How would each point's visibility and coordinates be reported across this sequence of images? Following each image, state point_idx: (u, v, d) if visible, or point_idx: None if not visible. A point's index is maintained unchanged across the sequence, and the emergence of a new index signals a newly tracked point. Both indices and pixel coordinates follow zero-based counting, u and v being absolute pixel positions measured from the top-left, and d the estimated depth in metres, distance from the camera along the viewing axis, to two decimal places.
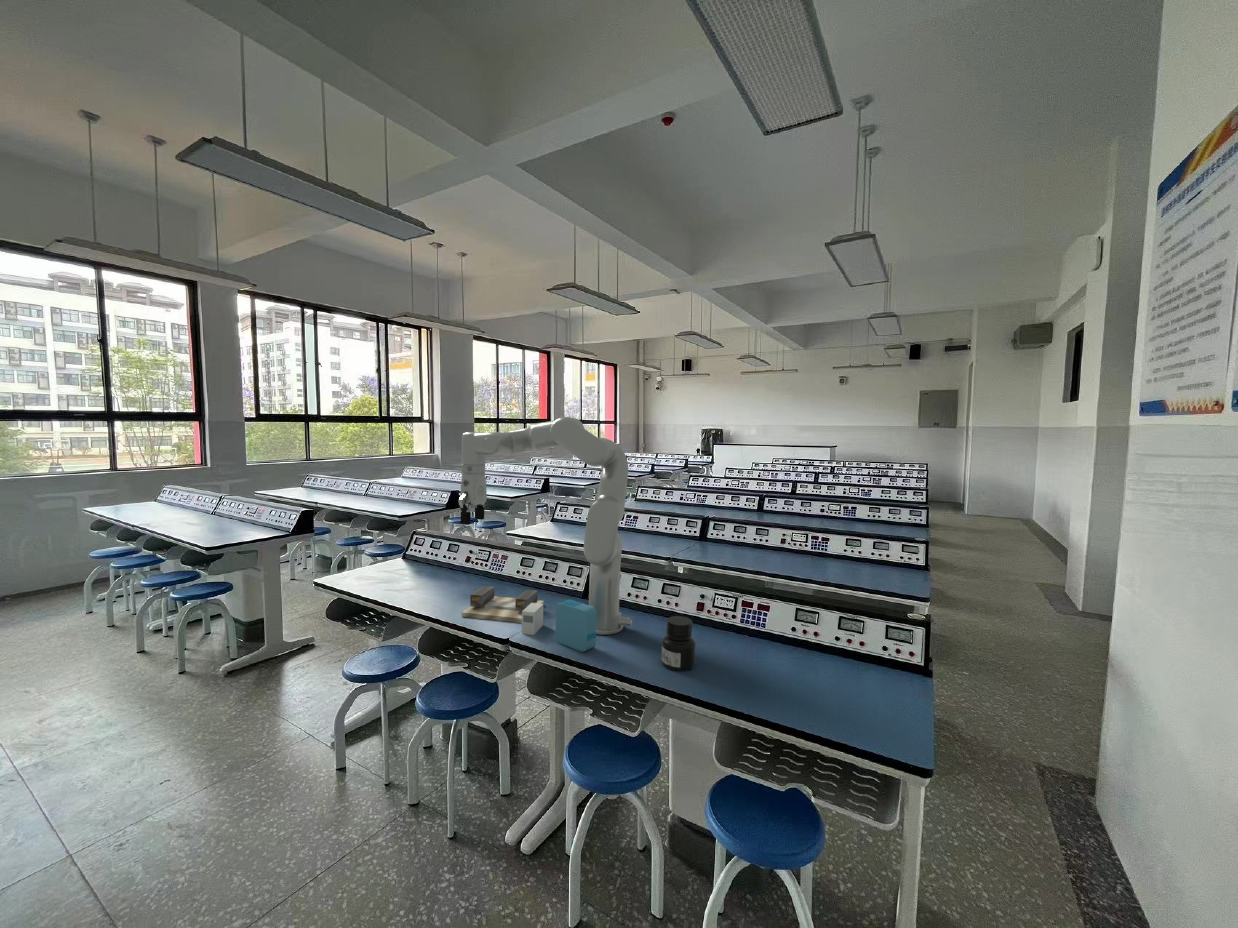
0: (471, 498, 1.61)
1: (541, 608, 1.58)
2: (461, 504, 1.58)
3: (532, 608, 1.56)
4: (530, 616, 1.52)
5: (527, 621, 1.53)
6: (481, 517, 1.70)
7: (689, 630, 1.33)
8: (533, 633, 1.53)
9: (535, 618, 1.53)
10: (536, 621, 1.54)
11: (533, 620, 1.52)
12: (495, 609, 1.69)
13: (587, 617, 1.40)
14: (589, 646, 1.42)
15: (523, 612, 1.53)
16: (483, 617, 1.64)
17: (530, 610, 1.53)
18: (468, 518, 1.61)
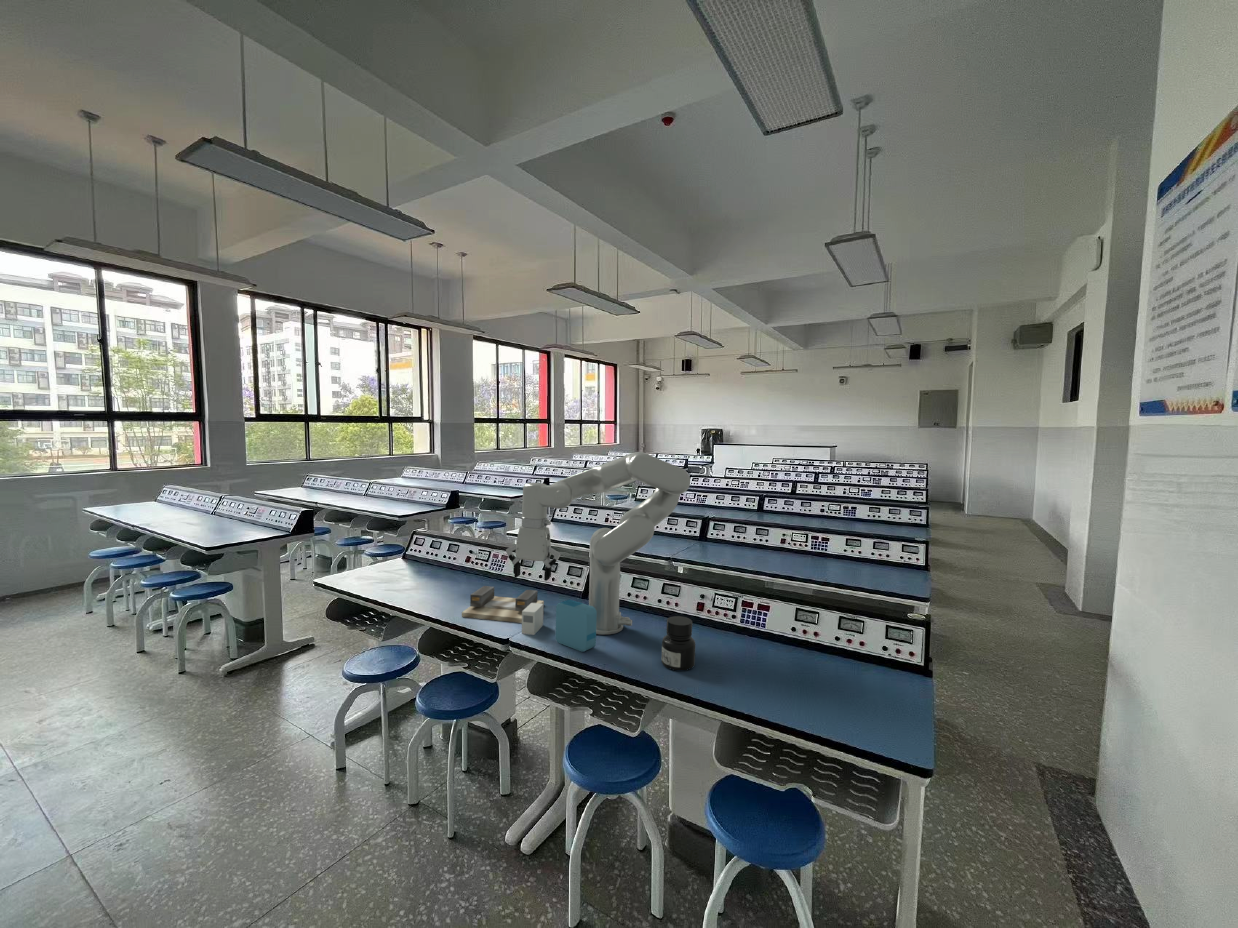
0: None
1: (541, 608, 1.58)
2: None
3: (532, 608, 1.56)
4: (530, 616, 1.52)
5: (527, 621, 1.53)
6: (519, 573, 1.58)
7: (689, 630, 1.33)
8: (533, 633, 1.53)
9: (535, 618, 1.53)
10: (536, 621, 1.54)
11: (533, 620, 1.52)
12: (495, 609, 1.69)
13: (587, 617, 1.40)
14: (589, 646, 1.42)
15: (523, 612, 1.53)
16: (483, 617, 1.64)
17: (530, 610, 1.53)
18: None
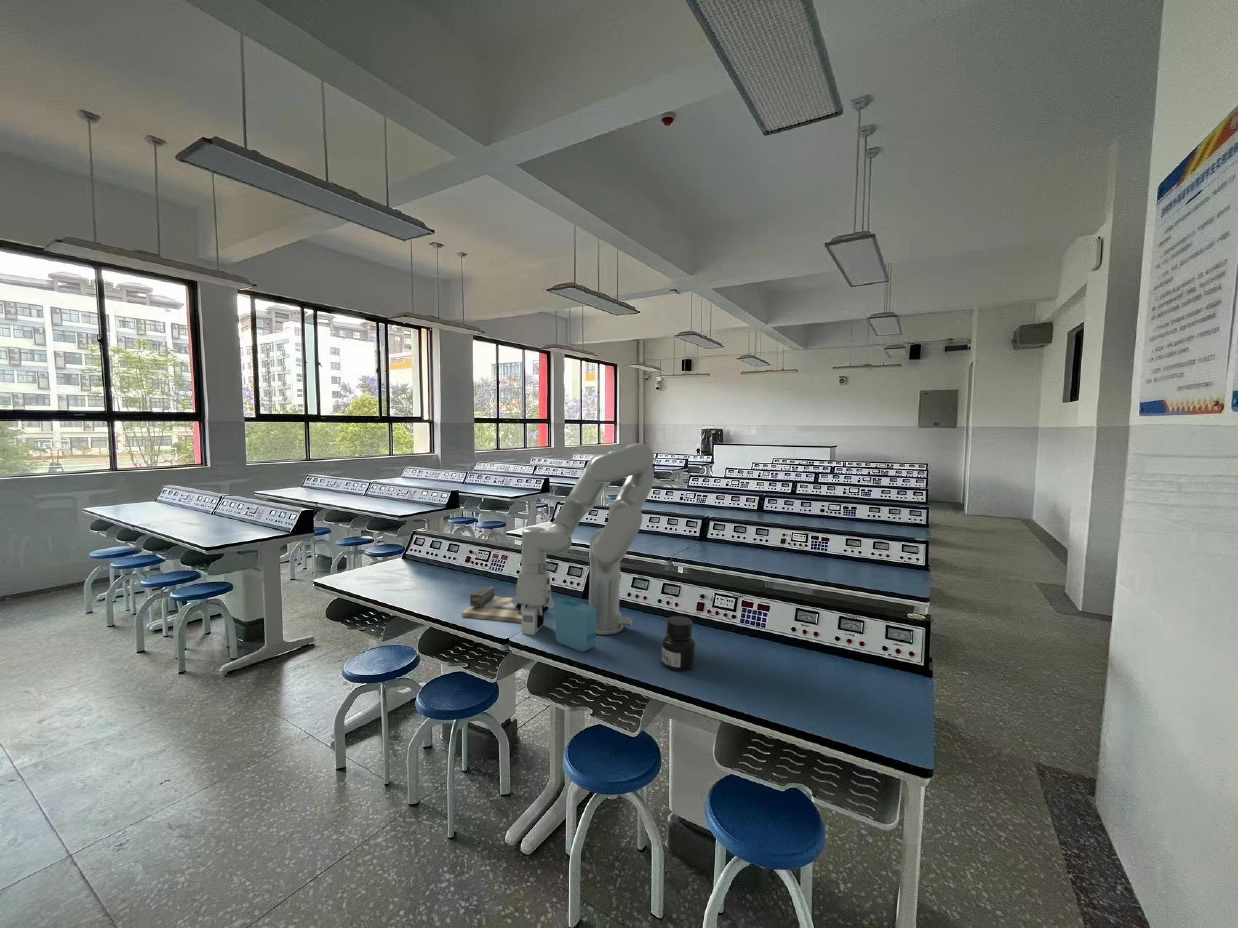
0: (550, 594, 1.57)
1: None
2: None
3: (532, 608, 1.56)
4: (530, 616, 1.52)
5: (527, 621, 1.53)
6: None
7: (689, 630, 1.33)
8: (533, 633, 1.53)
9: (535, 617, 1.53)
10: (536, 621, 1.54)
11: (533, 620, 1.52)
12: (495, 609, 1.69)
13: (587, 617, 1.40)
14: (589, 646, 1.42)
15: (523, 612, 1.53)
16: (483, 617, 1.64)
17: (530, 610, 1.53)
18: None
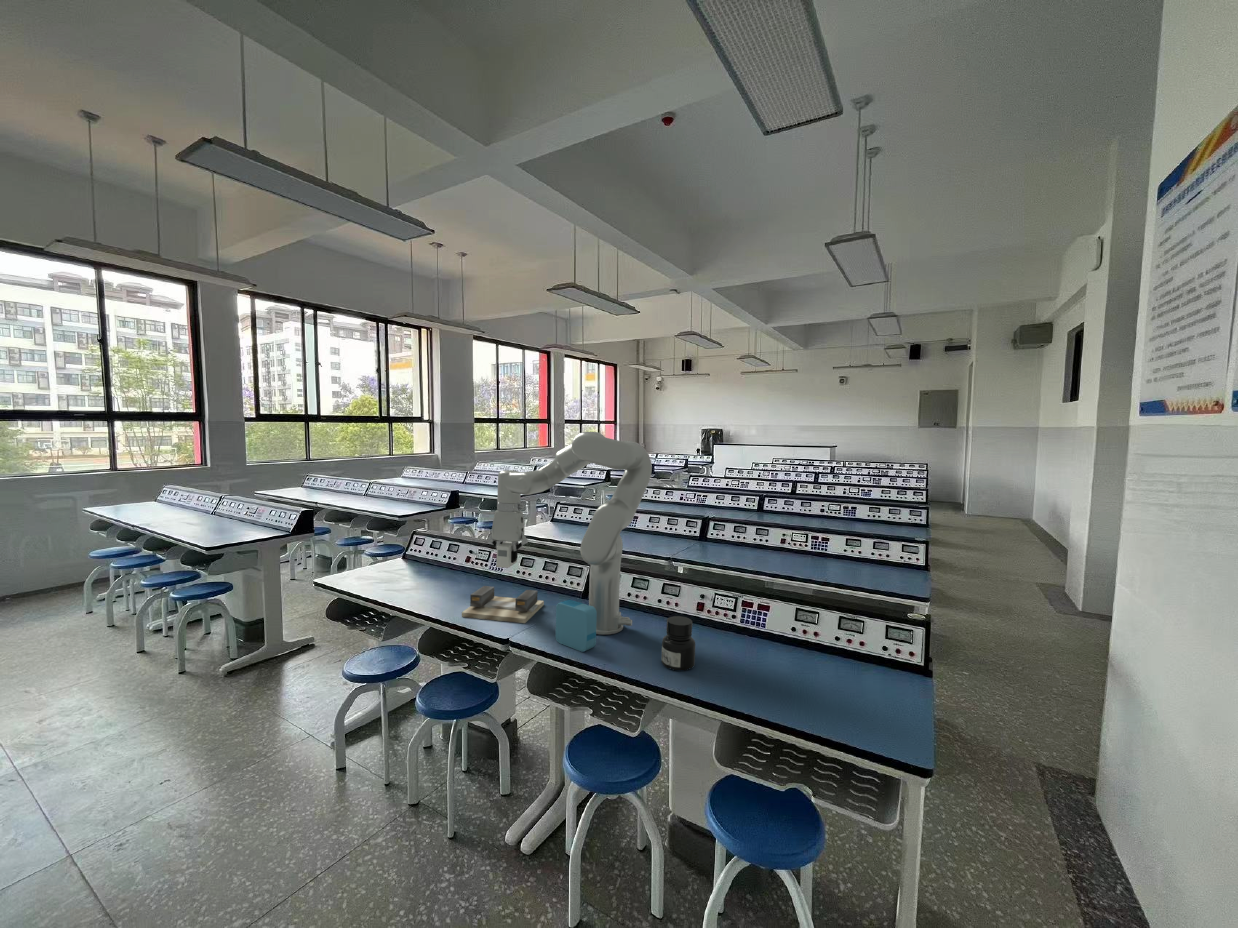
0: None
1: None
2: None
3: (507, 544, 1.68)
4: (504, 550, 1.65)
5: (501, 555, 1.65)
6: None
7: (689, 630, 1.33)
8: (507, 566, 1.65)
9: (509, 552, 1.66)
10: (510, 556, 1.67)
11: (507, 554, 1.65)
12: (495, 609, 1.69)
13: (587, 617, 1.40)
14: (589, 646, 1.42)
15: (498, 547, 1.66)
16: (483, 617, 1.64)
17: (505, 546, 1.66)
18: None
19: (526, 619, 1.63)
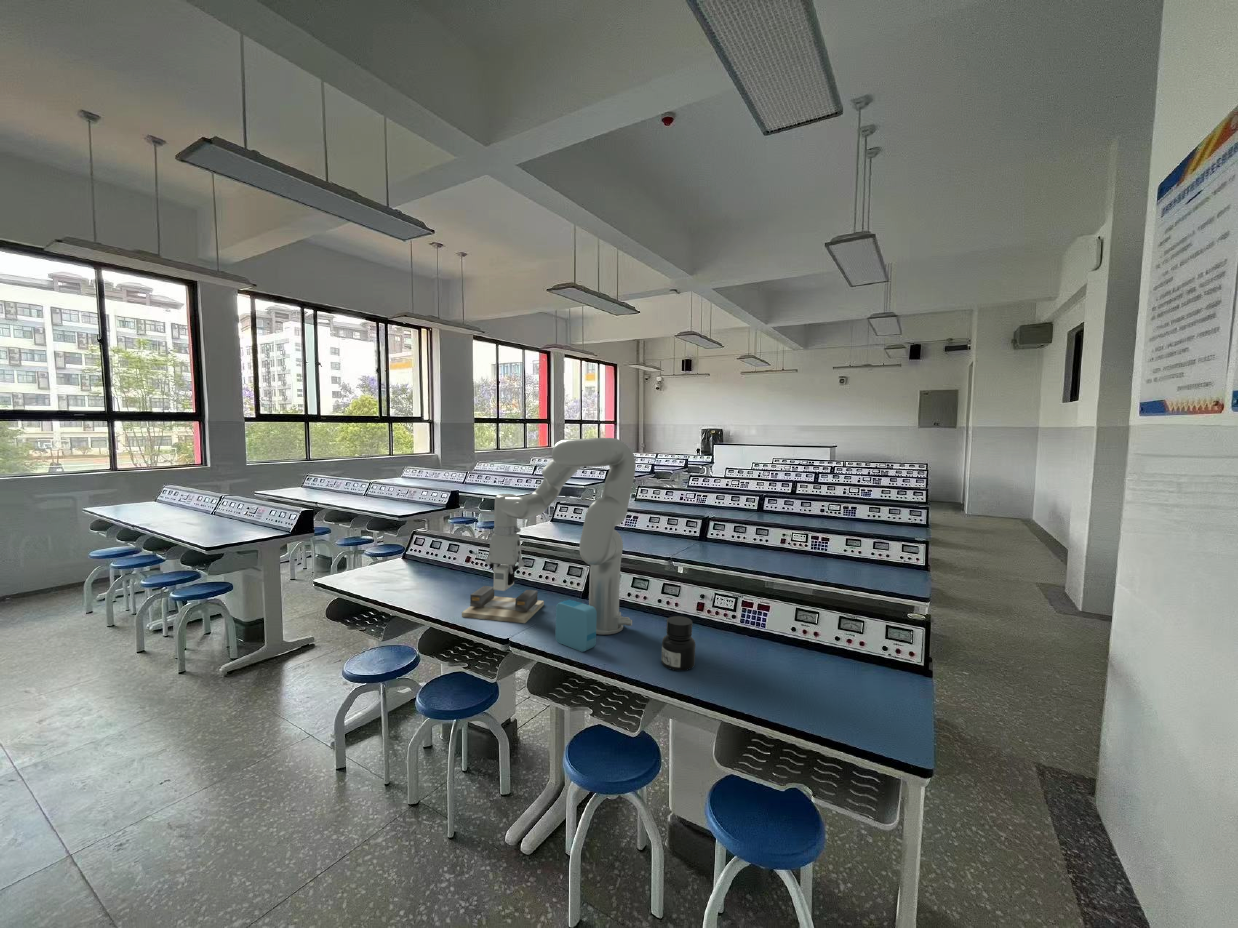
0: (520, 555, 1.72)
1: None
2: None
3: (503, 567, 1.71)
4: (501, 573, 1.67)
5: (498, 578, 1.68)
6: None
7: (689, 630, 1.33)
8: (504, 589, 1.68)
9: (506, 575, 1.68)
10: (507, 579, 1.69)
11: (504, 577, 1.67)
12: (495, 609, 1.69)
13: (587, 617, 1.40)
14: (589, 646, 1.42)
15: (495, 570, 1.68)
16: (483, 617, 1.64)
17: (501, 568, 1.68)
18: None
19: (526, 619, 1.63)
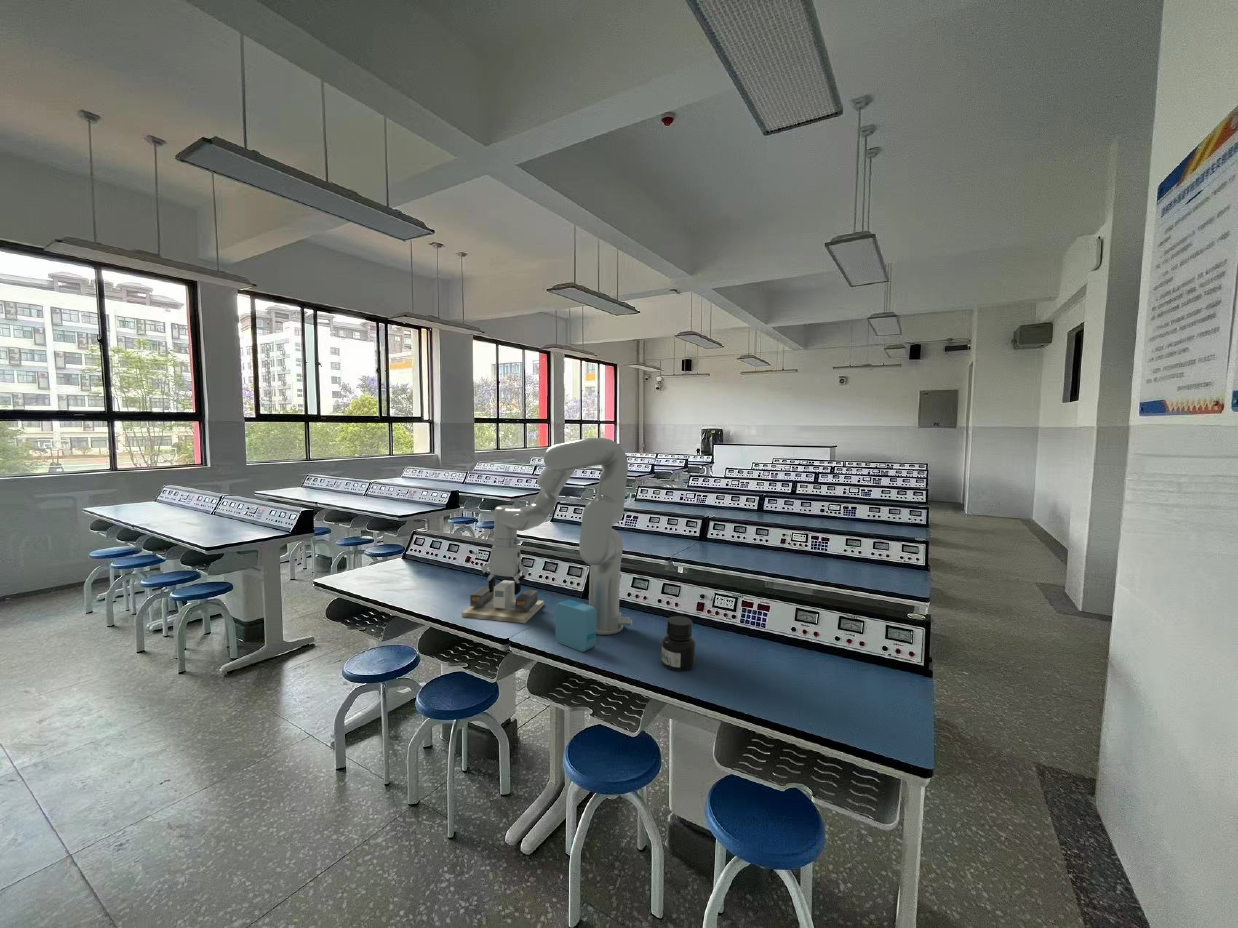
0: None
1: (512, 585, 1.74)
2: (526, 574, 1.70)
3: (503, 584, 1.71)
4: (501, 591, 1.68)
5: (498, 596, 1.68)
6: None
7: (689, 630, 1.33)
8: (504, 607, 1.68)
9: (506, 593, 1.69)
10: (507, 596, 1.69)
11: (504, 595, 1.68)
12: (495, 609, 1.69)
13: (587, 617, 1.40)
14: (589, 646, 1.42)
15: (495, 587, 1.68)
16: (483, 617, 1.64)
17: (501, 586, 1.69)
18: None
19: (526, 619, 1.63)
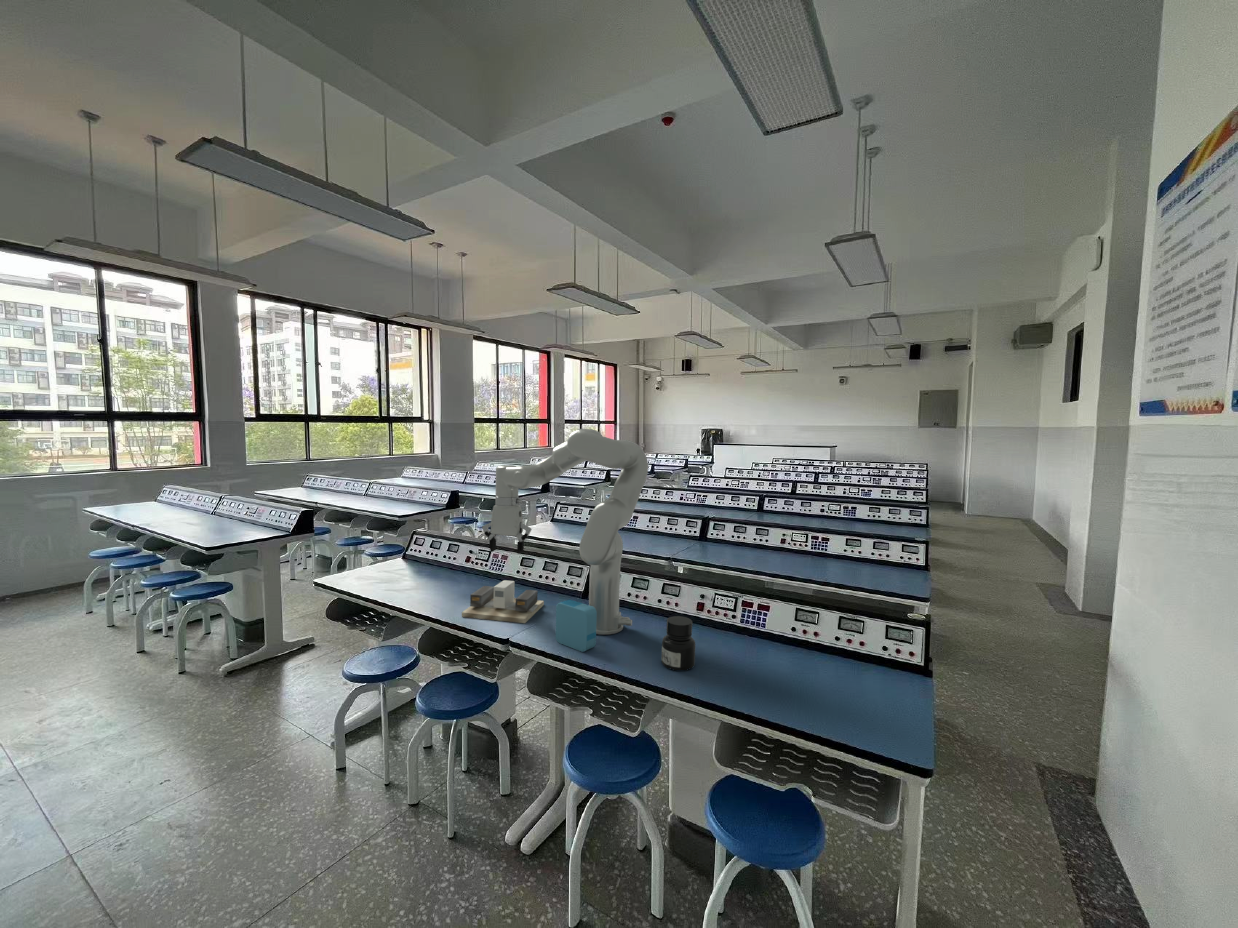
0: None
1: (512, 585, 1.74)
2: (529, 533, 1.70)
3: (503, 584, 1.71)
4: (501, 591, 1.68)
5: (498, 596, 1.68)
6: (495, 548, 1.73)
7: (689, 630, 1.33)
8: (504, 607, 1.68)
9: (506, 593, 1.69)
10: (507, 596, 1.69)
11: (504, 595, 1.68)
12: (495, 609, 1.69)
13: (587, 617, 1.40)
14: (589, 646, 1.42)
15: (495, 587, 1.68)
16: (483, 617, 1.64)
17: (501, 586, 1.69)
18: None
19: (526, 619, 1.63)
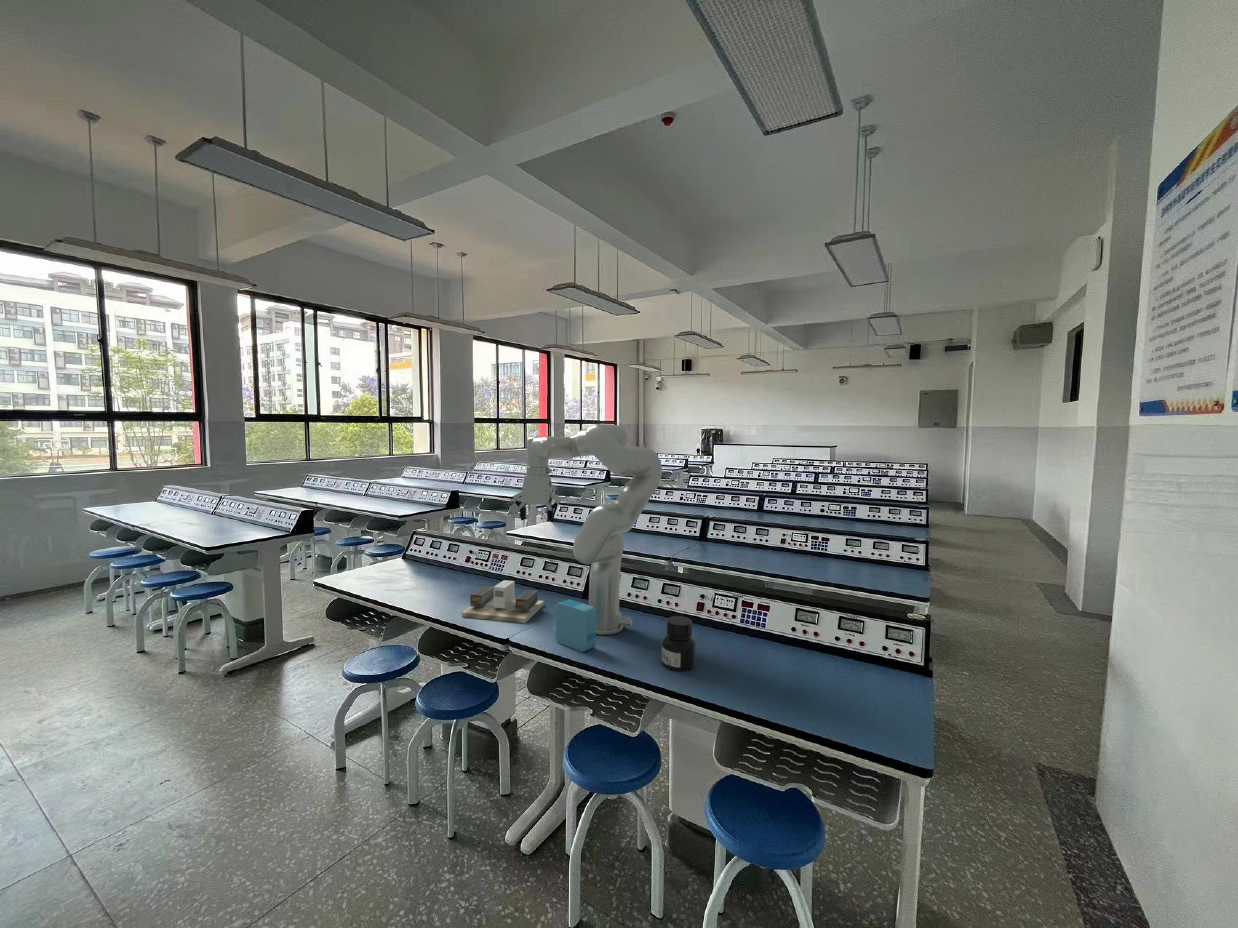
0: None
1: (512, 585, 1.74)
2: (558, 502, 1.75)
3: (503, 584, 1.71)
4: (501, 591, 1.68)
5: (498, 596, 1.68)
6: (525, 517, 1.79)
7: (689, 630, 1.33)
8: (504, 607, 1.68)
9: (506, 593, 1.69)
10: (507, 596, 1.69)
11: (504, 595, 1.68)
12: (495, 609, 1.69)
13: (587, 617, 1.40)
14: (589, 646, 1.42)
15: (495, 587, 1.68)
16: (483, 617, 1.64)
17: (501, 586, 1.69)
18: None
19: (526, 619, 1.63)
